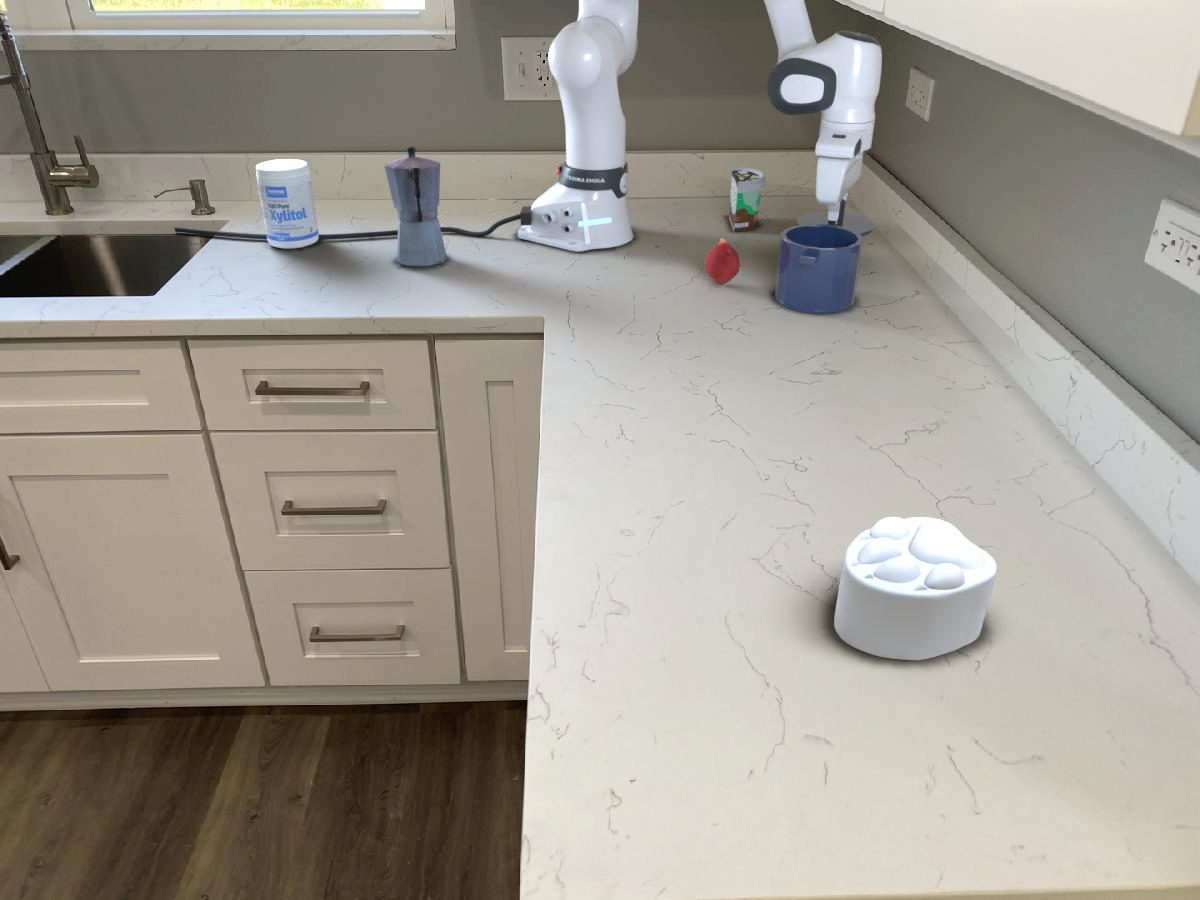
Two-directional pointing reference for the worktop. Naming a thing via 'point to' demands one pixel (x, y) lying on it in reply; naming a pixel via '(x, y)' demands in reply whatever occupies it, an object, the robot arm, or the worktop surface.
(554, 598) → the worktop surface
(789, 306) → the pot
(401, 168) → the moka pot
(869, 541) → the lumpy-topped squat cylinder
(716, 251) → the onion
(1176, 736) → the worktop surface
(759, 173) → the food container
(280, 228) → the supplement tub
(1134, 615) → the worktop surface
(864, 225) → the lid
